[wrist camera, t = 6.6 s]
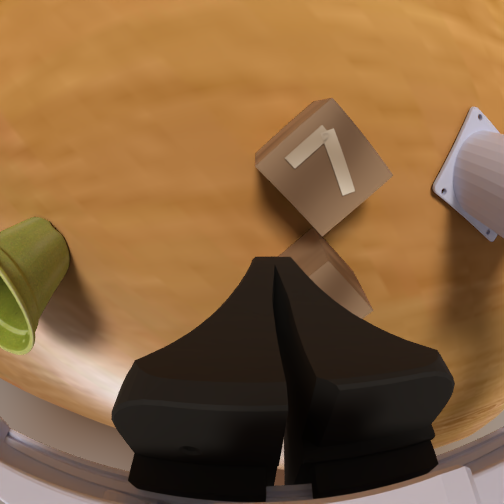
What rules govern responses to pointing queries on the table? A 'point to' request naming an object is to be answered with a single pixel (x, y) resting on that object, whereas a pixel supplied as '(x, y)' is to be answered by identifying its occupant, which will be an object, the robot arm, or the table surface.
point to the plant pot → (28, 279)
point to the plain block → (329, 272)
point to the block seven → (322, 164)
